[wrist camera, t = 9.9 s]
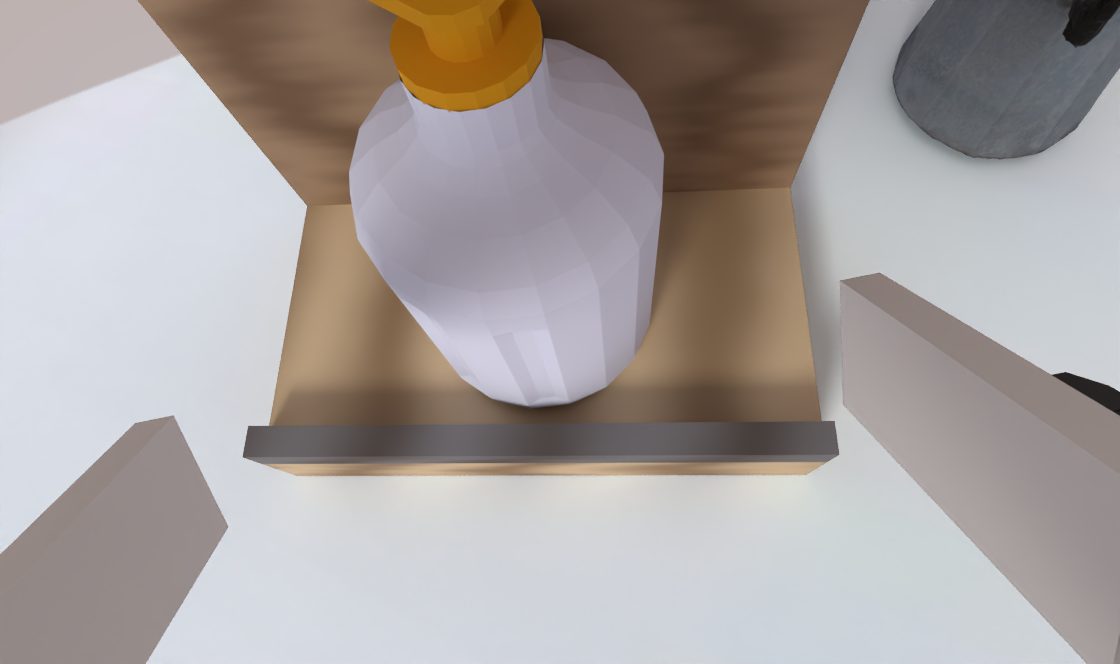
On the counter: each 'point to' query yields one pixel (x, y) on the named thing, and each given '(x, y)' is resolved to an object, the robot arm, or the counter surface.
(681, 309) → the cleat shelf
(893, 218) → the counter surface
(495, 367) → the soap bottle
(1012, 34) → the moka pot
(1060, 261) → the counter surface
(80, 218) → the counter surface
